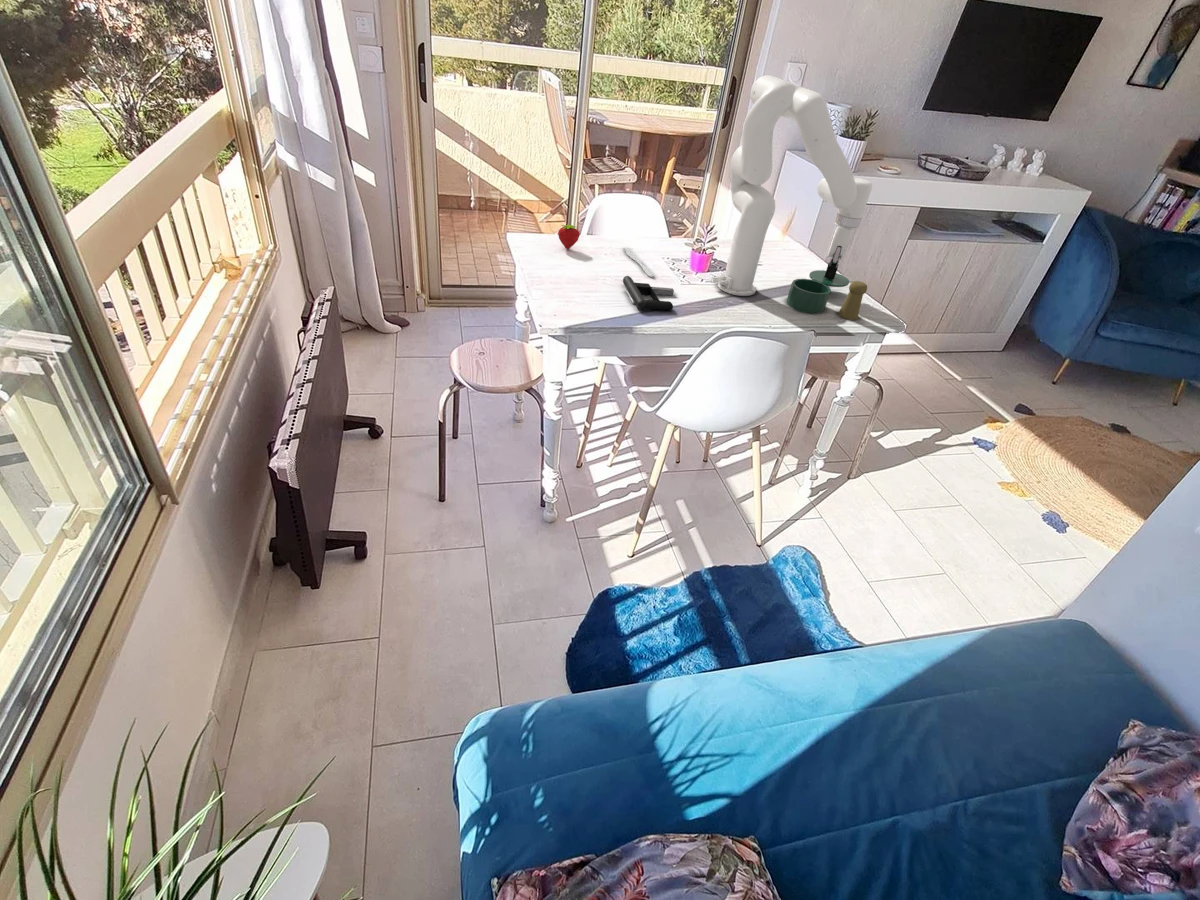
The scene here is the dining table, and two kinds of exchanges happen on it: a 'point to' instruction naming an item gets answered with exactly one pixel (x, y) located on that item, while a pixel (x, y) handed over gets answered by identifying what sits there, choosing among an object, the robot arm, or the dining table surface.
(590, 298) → the dining table surface
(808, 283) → the pot
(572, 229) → the strawberry
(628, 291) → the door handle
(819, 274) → the pot lid
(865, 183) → the robot arm
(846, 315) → the olive tapered upright piece
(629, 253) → the butter knife
